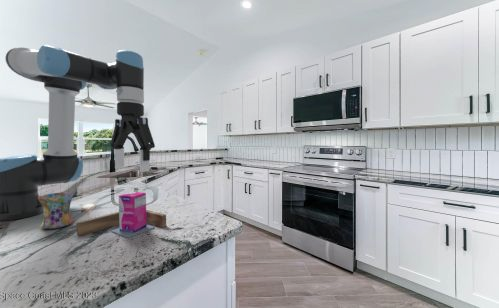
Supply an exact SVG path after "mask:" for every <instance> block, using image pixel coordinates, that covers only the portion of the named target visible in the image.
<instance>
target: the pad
mask: <svg viewBox="0 0 499 308" xmlns="http://www.w3.org/2000/svg"><path fill="white" fill-rule="evenodd" d="M153 229H155V226H154V225H150V224H147V226H146V227H144V228H142V229H140V230H138V231H136V232H128V231H120V227H117V228H114V229H112V230H111V232H110V233H113V234H116V235H119V236H121V237H124V238H131V237H134V236H137V235H140V234H142V233H145V232H149V231H150V230H153Z"/></svg>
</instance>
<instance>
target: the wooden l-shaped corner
mask: <svg viewBox="0 0 499 308" xmlns="http://www.w3.org/2000/svg"><path fill="white" fill-rule="evenodd" d="M146 221H147V225H151V226H154V227H159V228H161V229H162V228H165V227H167V214H165V213H161V212H158V211H153V210H149V209H146ZM118 225H119V211H117V212H112V213H108V214H104V215H101V216H96V217H93V218H89V219H85V220H80V221H77V222H76V236H78V237H81V236H85V235H89V234H92V233H95V232H98V231H101V230H104V229H108V228H112V227H115V226H118Z"/></svg>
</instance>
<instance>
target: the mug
mask: <svg viewBox="0 0 499 308" xmlns="http://www.w3.org/2000/svg"><path fill="white" fill-rule="evenodd" d="M74 195H75V193H74V192H71V191H70V192H68V191H67V192H66V191H65V192H63V191H61V192H53V193H47V194H42V195H39V197H38V200H39V201H40V203H41V205H42V207H43V211H44V212H43V218H42V223H41V224H40V226H39V227H40V228H41V229H43V230H55V229H60V228H63V227H67V226H69V225H72V224H73V223H74V219H73V217H72V215H71V202H72V200H73V197H74Z"/></svg>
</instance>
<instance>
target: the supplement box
mask: <svg viewBox="0 0 499 308" xmlns="http://www.w3.org/2000/svg"><path fill="white" fill-rule="evenodd" d="M146 210H147V194H146V192H140V191H129V192H126V193H124V194H120V195H118V212H119V224H118V225H119V227H118V228H120V231H128V232H136V231H138V230H140V229H142V228H144V227H146V226H147V225H148V223H147V221H146Z"/></svg>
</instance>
